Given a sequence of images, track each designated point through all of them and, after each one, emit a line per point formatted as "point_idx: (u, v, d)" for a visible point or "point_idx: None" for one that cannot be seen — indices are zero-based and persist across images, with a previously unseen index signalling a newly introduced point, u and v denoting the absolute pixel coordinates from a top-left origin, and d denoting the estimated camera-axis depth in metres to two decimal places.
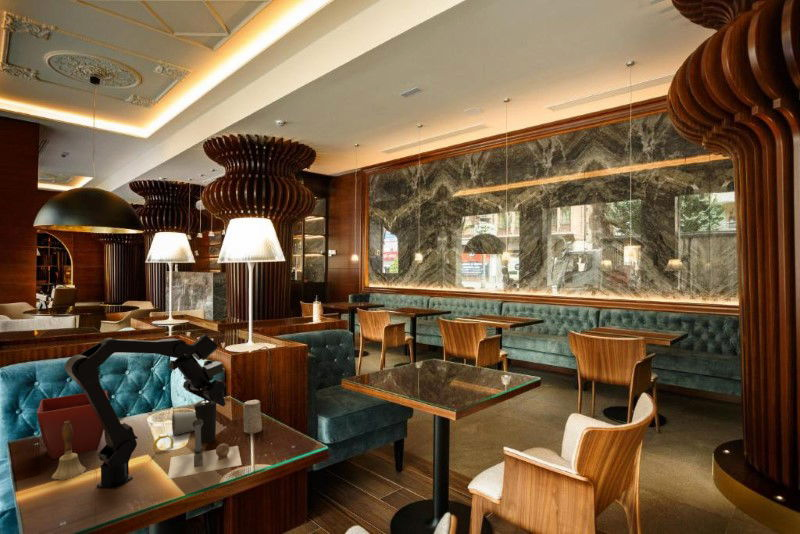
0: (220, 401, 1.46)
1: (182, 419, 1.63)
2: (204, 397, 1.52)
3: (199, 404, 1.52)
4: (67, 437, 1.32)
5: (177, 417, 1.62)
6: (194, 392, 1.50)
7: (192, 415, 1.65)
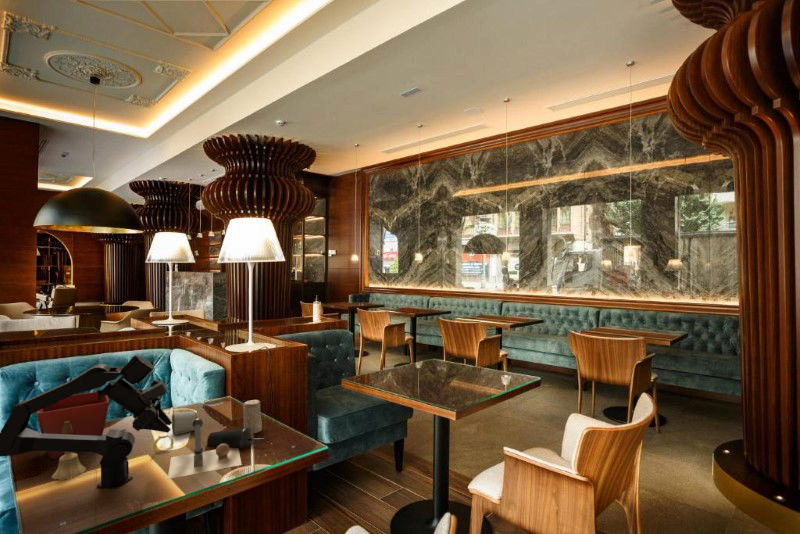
0: (160, 428, 1.28)
1: (182, 419, 1.63)
2: None
3: (243, 447, 1.46)
4: None
5: (177, 417, 1.63)
6: None
7: (192, 415, 1.66)
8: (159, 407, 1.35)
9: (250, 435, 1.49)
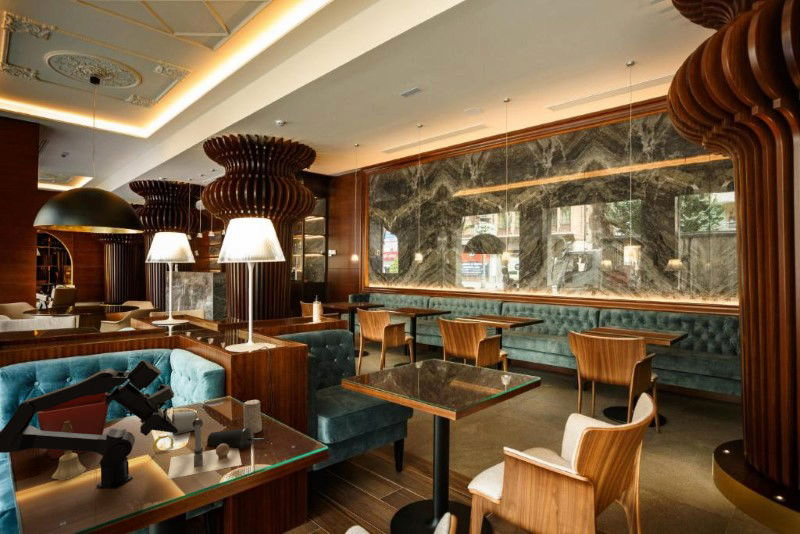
0: (168, 428, 1.32)
1: (182, 419, 1.63)
2: None
3: (243, 447, 1.46)
4: None
5: (177, 417, 1.63)
6: None
7: (192, 415, 1.66)
8: None
9: (250, 435, 1.49)
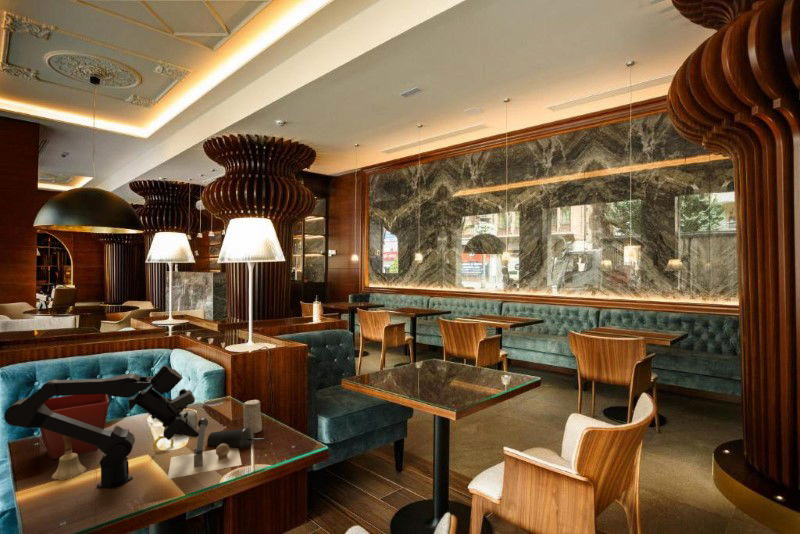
0: (189, 433, 1.34)
1: None
2: None
3: (243, 447, 1.46)
4: (67, 437, 1.32)
5: None
6: None
7: (192, 414, 1.66)
8: None
9: (250, 435, 1.49)
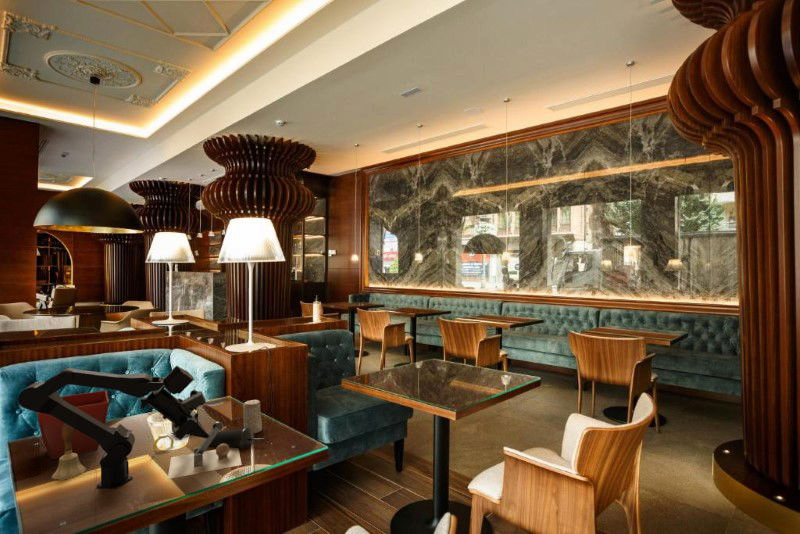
0: (199, 433, 1.35)
1: None
2: None
3: (243, 447, 1.46)
4: (67, 437, 1.32)
5: None
6: None
7: None
8: None
9: (250, 435, 1.49)
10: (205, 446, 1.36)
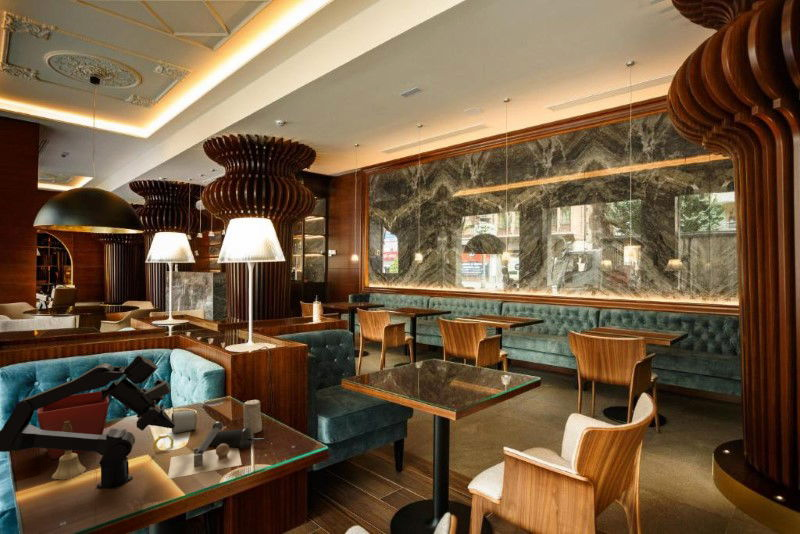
0: (165, 424, 1.31)
1: (181, 418, 1.64)
2: None
3: (243, 447, 1.46)
4: None
5: (176, 416, 1.64)
6: None
7: (191, 414, 1.67)
8: None
9: (250, 435, 1.49)
10: (205, 446, 1.36)
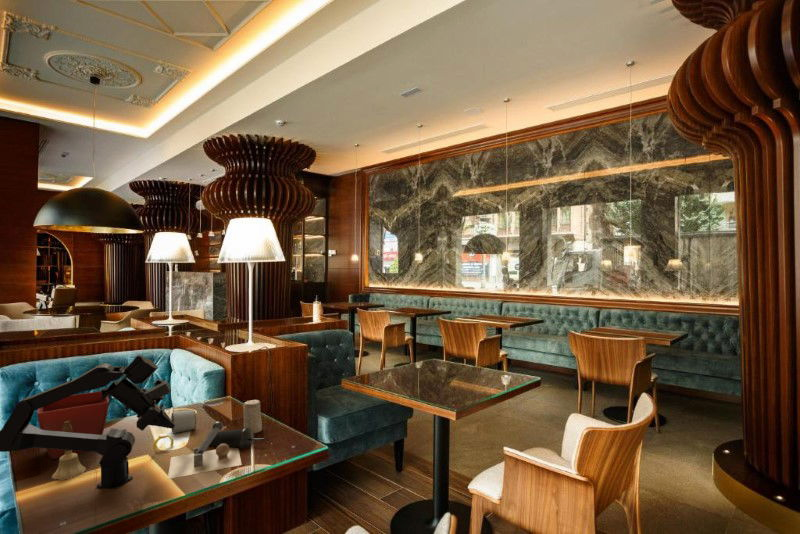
0: (165, 424, 1.31)
1: (181, 418, 1.64)
2: None
3: (243, 447, 1.46)
4: None
5: (176, 416, 1.64)
6: None
7: (191, 414, 1.67)
8: None
9: (250, 435, 1.49)
10: (205, 446, 1.36)
